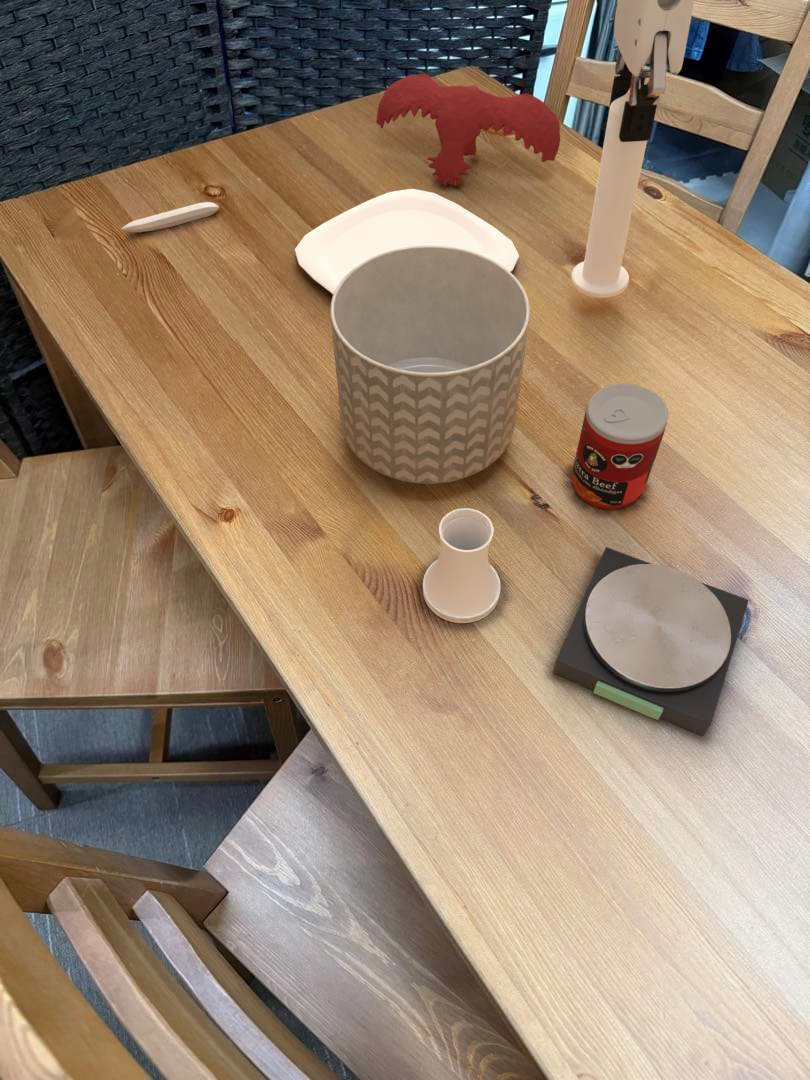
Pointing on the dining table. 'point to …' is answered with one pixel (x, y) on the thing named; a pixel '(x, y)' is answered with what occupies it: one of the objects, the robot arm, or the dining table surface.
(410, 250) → the planter
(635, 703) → the scale
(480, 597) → the vase
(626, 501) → the canned food
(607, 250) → the candle
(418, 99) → the decorative bird sculpture
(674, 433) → the dining table surface
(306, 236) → the plate
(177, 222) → the pen
